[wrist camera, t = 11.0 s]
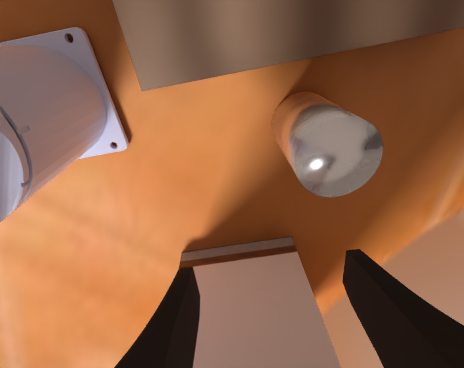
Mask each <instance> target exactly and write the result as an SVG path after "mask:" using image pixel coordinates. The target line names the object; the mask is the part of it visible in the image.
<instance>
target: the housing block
mask: <svg viewBox="0 0 464 368" xmlns="http://www.w3.org/2000/svg"><path fill="white" fill-rule="evenodd" d="M112 2H113V5H114V8H115V11H116V14H117V17H118V20H119V23H120V26H121V29H122V32H123V35H124V38H125V41H126V44H127V48H128V51H129V54H130V57H131V60H132V63H133V66H134V69H135V72H136V75H137V78H138V81H139V84H140V87H141V90H142V91H146V90H151V89H156V88H161V87H166V86H171V85H176V84H181V83H186V82H191V81H197V80H202V79H207V78H212V77H217V76H222V75H227V74H232V73H237V72H242V71H247V70H252V69H257V68H262V67H267V66H272V65H277V64H282V63H287V62H292V61H297V60H303V59H308V58H313V57H318V56H323V55H328V54H333V53H338V52H343V51H348V50H353V49H358V48H363V47H368V46H373V45H378V44H383V43H388V42H393V41H398V40H403V39H409V38H414V37H419V36H424V35H429V34H434V33H439V32H444V31H449V30H454V29H459V28H464V0H112Z"/></svg>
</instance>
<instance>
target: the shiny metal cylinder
mask: <svg viewBox="0 0 464 368" xmlns="http://www.w3.org/2000/svg"><path fill="white" fill-rule="evenodd" d="M272 133H273V136H274V138H275V140H276V141H277V143H278V145H279V146H280V148H281V150H282V152H283V153H284V155H285V157H286V159H287V160H288V162H289V164H290V166H291V167H292V169H293V171H294V173H295V174H296V176H297V178H298V179H299V181H300V183H301V184H302V186H303V187H304V188H305V189H307V190H308V191H309V192H311V193H313V194H315V195H318V196H322V197H338V196H343V195H346V194H349V193H351V192H353V191H355V190H357V189H358V188H360V187H361V186H363V185H364V184H365V183H366V182H367V181H368V180H369V179H370V178H371V177H372V176H373V175H374V173H375V172H376V170H377V168H378V166H379V164H380V162H381V159H382V154H383V142H382V138H381V136H380V134H379V132H378V130H377V129H376V128H375V127H374V126H373V125H372V124H371V123H370V122H368V121H366V120H364V119H363V118H361V117H359V116H357V115H355V114H353V113H351V112H349V111H348V110H346V109H344V108H342V107H340V106H338V105H336V104H335V103H333V102H331V101H329V100H327V99H325V98H323V97H322V96H320V95H318V94H316V93H312V92H299V93H295V94H293V95H291V96H289V97H287V98H286V99H284V100H283V101H282V102H281V103H280V105H279V106H278V107H277V109H276V111H275V112H274V115H273V118H272Z"/></svg>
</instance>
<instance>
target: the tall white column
mask: <svg viewBox="0 0 464 368" xmlns="http://www.w3.org/2000/svg"><path fill="white" fill-rule="evenodd" d="M185 267H193V269H194V273H195V277H196V281H197V285H198V289H199V293H200V319H199V327H198V334H197V341H196V348H195V355H194V362H193V368H341V366H340V363H339V361H338V358H337V355H336V353H335V350H334V347H333V345H332V342H331V339H330V337H329V334H328V331H327V329H326V326H325V324H324V321H323V318H322V316H321V313H320V310H319V308H318V305H317V302H316V300H315V297H314V295H313V292H312V289H311V287H310V284H309V281H308V279H307V276H306V273H305V271H304V268H303V266H302V263H301V260H300V258H299V255H298V252H297V250H296V247H295V244H294V242H293V239H292V237H286V238H279V239H272V240H266V241H259V242H252V243H245V244H238V245H231V246H224V247H217V248H211V249H204V250H197V251H190V252H183V253H182V254H181V260H180V266H179V269H180V268H185Z"/></svg>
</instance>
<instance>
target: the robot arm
mask: <svg viewBox="0 0 464 368" xmlns="http://www.w3.org/2000/svg"><path fill="white" fill-rule="evenodd" d="M68 34H71V35H72V36H73V42H72V43H71V42H70V41H69V40H68V37H67V36H68ZM112 142H115V143H116V144H117V146H118V147H114V146H113V145H112ZM128 145H129V142H128V139H127V137H126V134H125V132H124V129H123V126H122V124H121V121H120V119H119V116H118V113H117V111H116V108H115V106H114V103H113V101H112V98H111V95H110V93H109V90H108V88H107V85H106V82H105V80H104V77H103V75H102V72H101V70H100V67H99V64H98V62H97V59H96V57H95V54H94V51H93V49H92V46H91V44H90V41H89V38H88V36H87V34H86V32H85V31H84V30H83V29H81V28H79V27H71V28H67V29H62V30H57V31H53V32H48V33H43V34H38V35H34V36H29V37H24V38H20V39H15V40H10V41H5V42H1V43H0V222H1V221H2V220H3V219H5V218H6V217H7V216H8V215H10V214H11V213H12V212H13V211H14V210H16V209H17V208H18V207H19V206H21V205H22V204H23V203H24V202H26V201H27V200H28V199H29V198H30V197H32V196H33V195H34V194H35V193H37V192H38V191H39V190H40V189H41V188H43V187H44V186H45V185H46V184H48V183H49V182H50V181H51V180H52V179H54V178H55V177H56V176H57V175H59V174H60V173H61V172H62V171H64V170H65V169H66V168H67V167H68V166H70V165H71V164H72V163H73V162H75V161H76V160H77V159H81V158H86V157H91V156H97V155H102V154H107V153H112V152H118V151H123V150H125V149H126V148H127V147H128ZM343 284H344V287H345V290H346V292H347V295H348V297H349V300H350V302H351V305H352V306H353V308H354V310H355V312H356V314H357V316H358V318H359V320H360V322H361V324H362V326H363V328H364V329H365V331H366V333H367V335H368V337H369V339H370V341H371V343H372V344H373V347H374V348H375V350H376V352H377V354H378V356H379V358H380V360H381V363H382V365H383V367H384V368H464V326H463V325H462V324H460V323H458V322H457V321H455V320H454V319H452V318H450V317H449V316H447V315H445V314H444V313H443V312H441V311H440V310H438V309H436V308H435V307H433V306H432V305H430V304H429V303H428V302H426V301H425V300H423V299H422V298H421V297H419V296H418V295H416V294H415V293H414V292H412V291H411V290H410V289H408V288H407V287H406V286H404V285H403V284H402V283H400V282H399V281H398V280H397V279H395V278H394V277H393V276H392V275H390V274H389V273H388V272H387V271H385V270H384V269H383V268H382V267H381V266H379V265H378V264H377V263H376V262H375V261H373V260H372V259H371V258H370V257H368V256H367V255H366V254H365V253H364V252H362V251H361V250H360V249H356V250H347V251H346V257H345V266H344V274H343ZM199 319H200V293H199V289H198V285H197V281H196V277H195V273H194V269H193V267H185V268H180V269H179V270H178V272H177V274H176V276H175V278H174V280H173V282H172V284H171V286H170V287H169V289H168V291H167V293H166V295H165V296H164V298H163V300H162V301H161V303H160V305H159V307H158V308H157V310H156V311H155V313H154V315H153V316H152V318H151V319H150V321H149V322H148V324H147V325H146V327H145V328H144V330H143V331H142V333H141V334H140V335H139V337H138V338H137V340H136V341H135V342H134V344H133V345H132V346H131V348H130V349H129V350H128V351H127V353H126V354H125V355H124V356H123V358H122V359H121V360H120V361H119V362H118V364H117V365H116V366H115V367H114V368H193V362H194V355H195V348H196V341H197V334H198V327H199Z"/></svg>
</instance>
